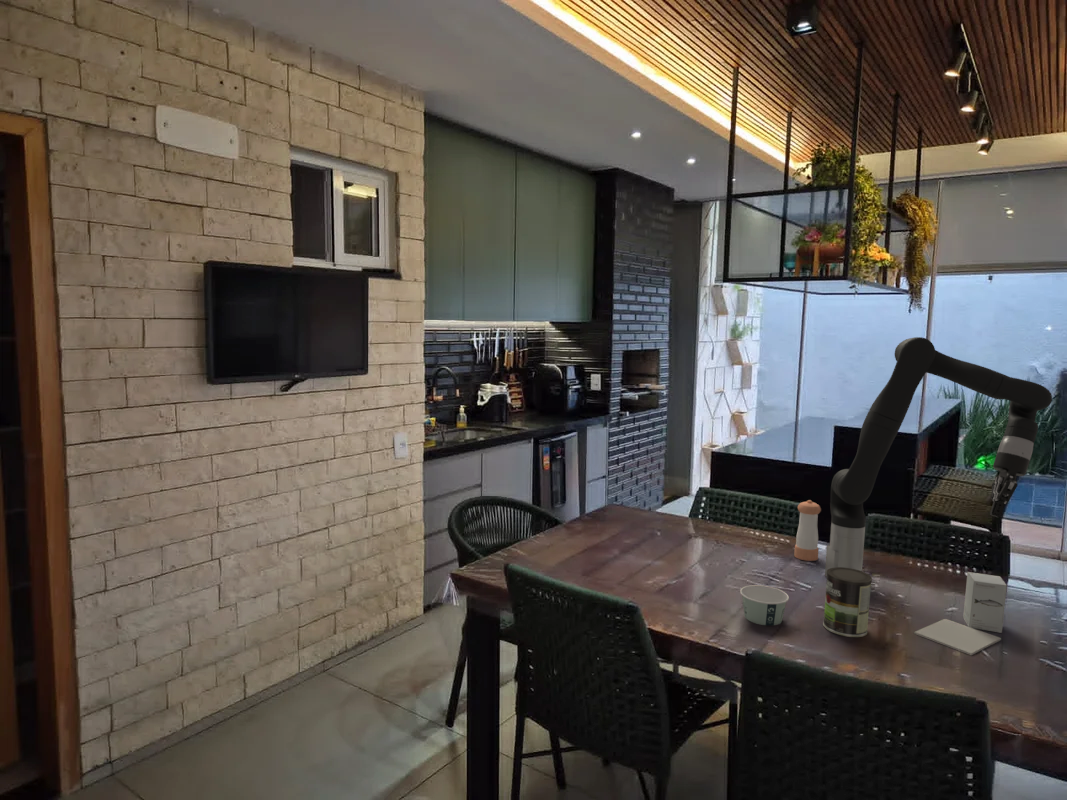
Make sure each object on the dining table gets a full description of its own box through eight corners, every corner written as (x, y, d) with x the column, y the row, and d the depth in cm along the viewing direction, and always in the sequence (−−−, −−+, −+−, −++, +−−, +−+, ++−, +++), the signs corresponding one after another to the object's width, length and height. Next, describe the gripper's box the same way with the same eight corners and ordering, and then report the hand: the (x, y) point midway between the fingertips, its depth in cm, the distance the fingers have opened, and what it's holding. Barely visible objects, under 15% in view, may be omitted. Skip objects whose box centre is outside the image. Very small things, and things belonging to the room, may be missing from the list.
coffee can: (836, 638, 166) (840, 582, 165) (815, 620, 177) (818, 567, 175) (876, 637, 167) (881, 581, 166) (853, 619, 177) (857, 566, 176)
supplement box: (968, 628, 173) (972, 580, 172) (962, 617, 180) (966, 570, 179) (1002, 634, 170) (1007, 585, 169) (995, 622, 177) (1000, 575, 176)
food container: (733, 607, 183) (734, 584, 183) (778, 609, 183) (780, 585, 182) (745, 627, 172) (747, 602, 171) (794, 628, 171) (795, 603, 170)
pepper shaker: (821, 561, 222) (825, 503, 220) (798, 560, 222) (802, 502, 220) (812, 553, 229) (816, 497, 227) (791, 553, 229) (794, 497, 227)
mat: (971, 655, 159) (971, 653, 159) (914, 633, 170) (914, 631, 169) (1000, 640, 167) (1000, 638, 167) (944, 620, 178) (945, 618, 178)
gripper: (1038, 457, 179) (1019, 520, 178) (1020, 462, 191) (1002, 521, 190) (1006, 448, 182) (986, 510, 180) (990, 453, 194) (972, 511, 193)
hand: (994, 515), depth 185 cm, fingers closed
